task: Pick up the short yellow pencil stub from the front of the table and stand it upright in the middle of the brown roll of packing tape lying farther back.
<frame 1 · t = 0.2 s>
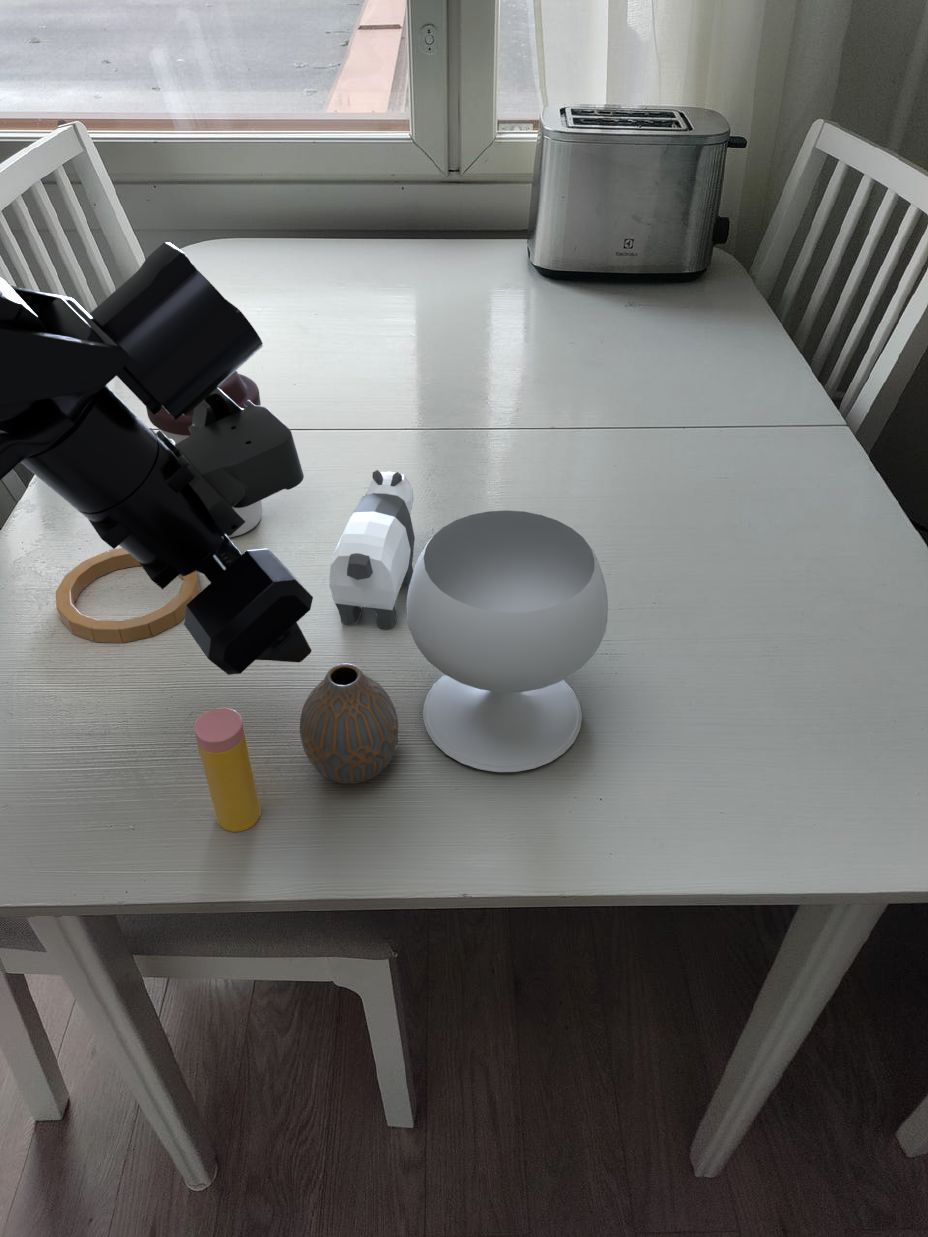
hand: (272, 616, 63), 13 cm above the table, tool tilted 30°, fingers open, 9 cm apart
coffee cup: (225, 521, 94), on the table
giant panda: (381, 589, 86), on the table
pencil stub: (238, 814, 66), on the table
tape roll: (130, 598, 84), on the table
vase: (353, 764, 70), on the table
chalice: (502, 717, 74), on the table
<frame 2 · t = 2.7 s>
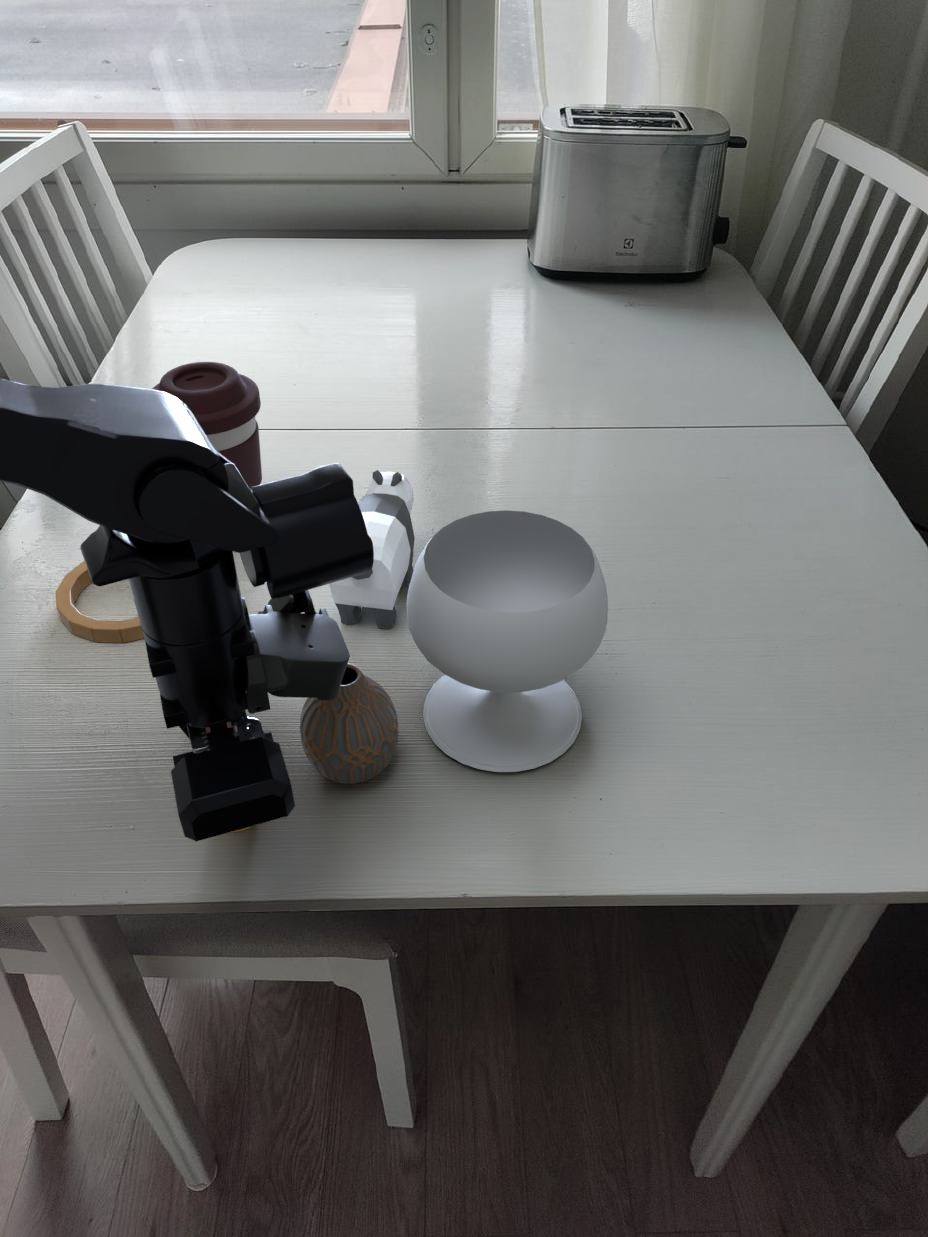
hand: (233, 791, 65), 3 cm above the table, tool pointing down, fingers closed on pencil stub, 3 cm apart
pencil stub: (238, 814, 66), on the table, touching gripper
everything else where it was.
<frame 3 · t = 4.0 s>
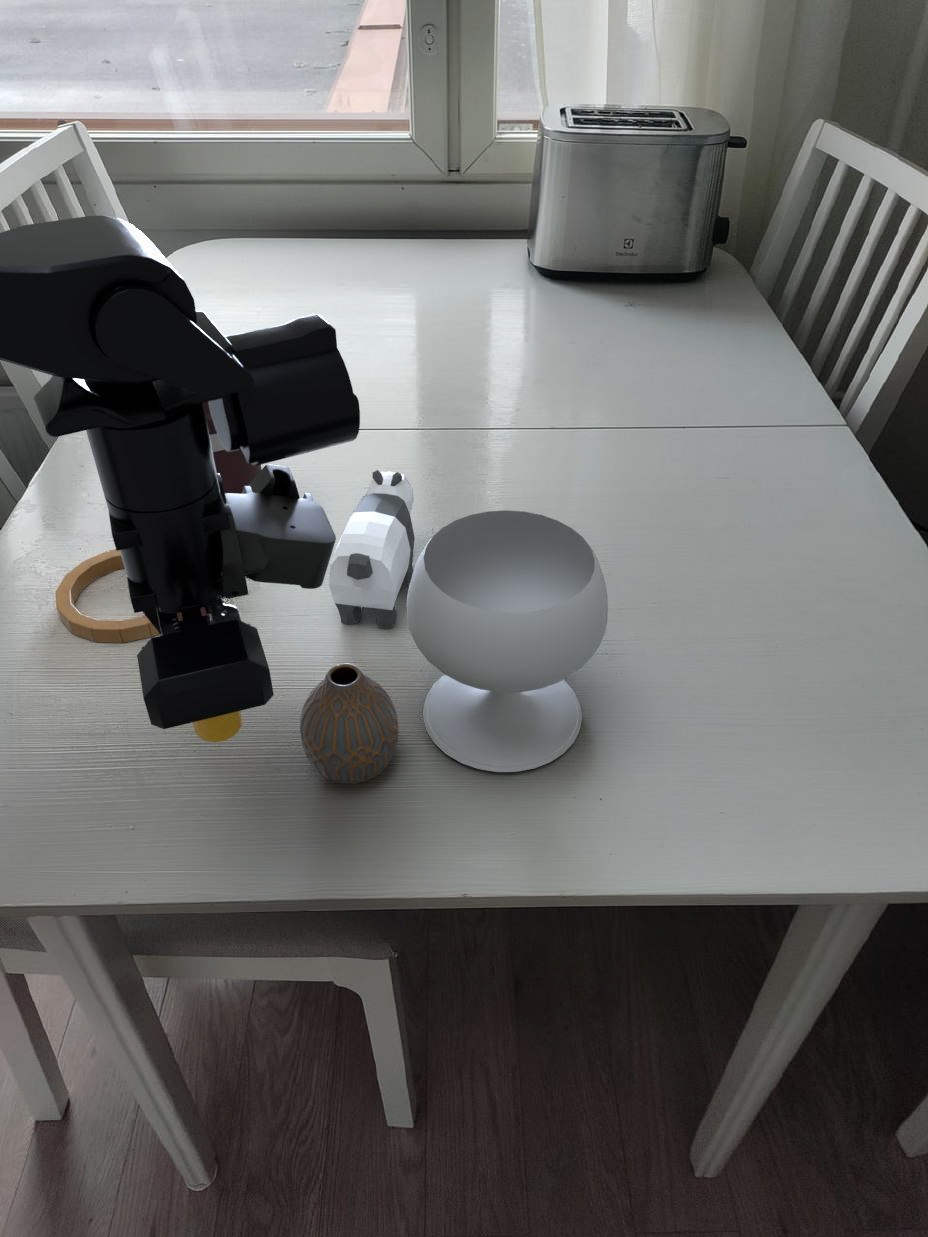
hand: (211, 697, 60), 11 cm above the table, tool pointing down, fingers closed on pencil stub, 3 cm apart
pencil stub: (218, 725, 61), point 8 cm above the table, touching gripper
everything else where it was.
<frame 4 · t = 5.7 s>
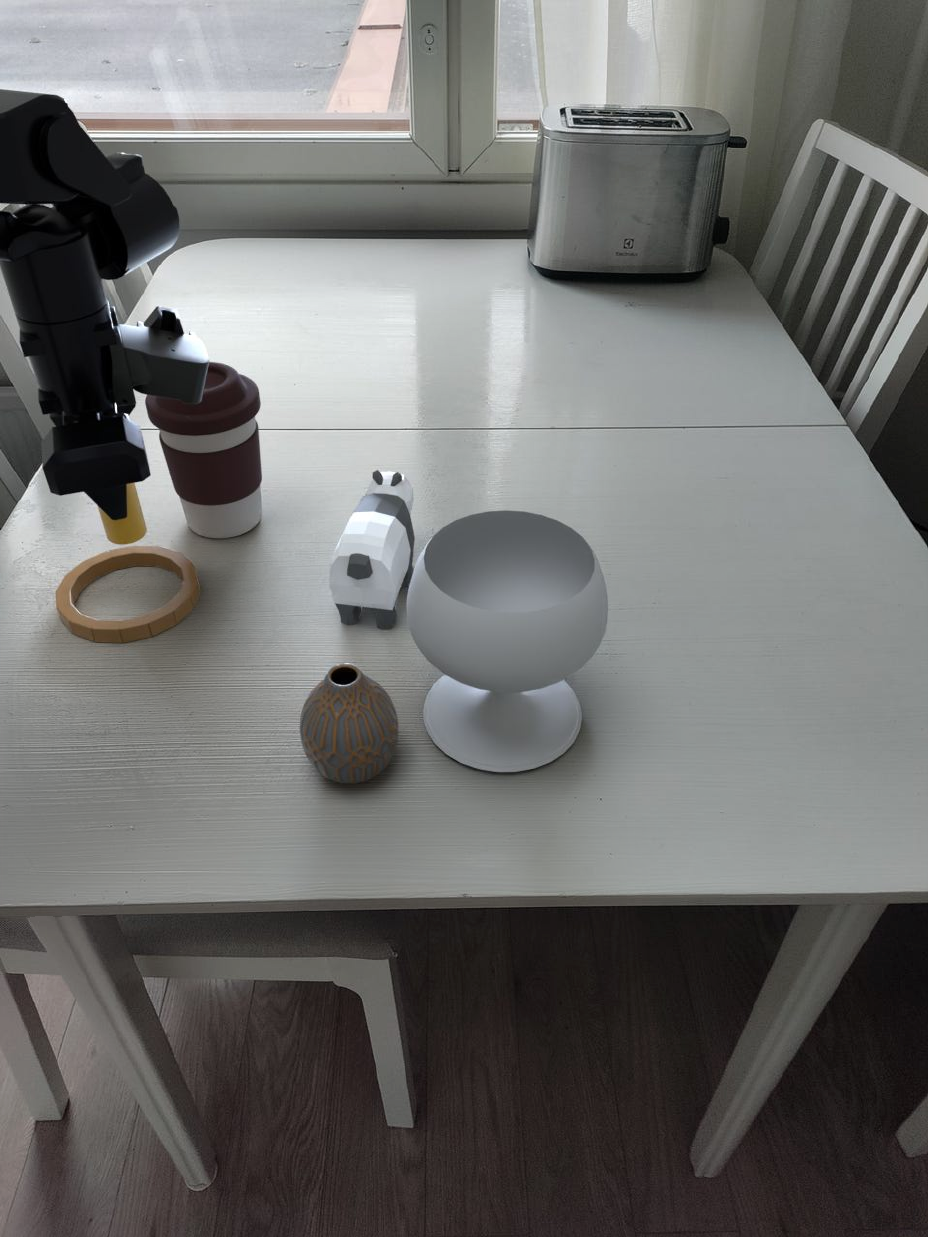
hand: (118, 506, 72), 13 cm above the table, tool pointing down, fingers closed on pencil stub, 3 cm apart
pencil stub: (127, 533, 74), point 10 cm above the table, touching gripper
everything else where it was.
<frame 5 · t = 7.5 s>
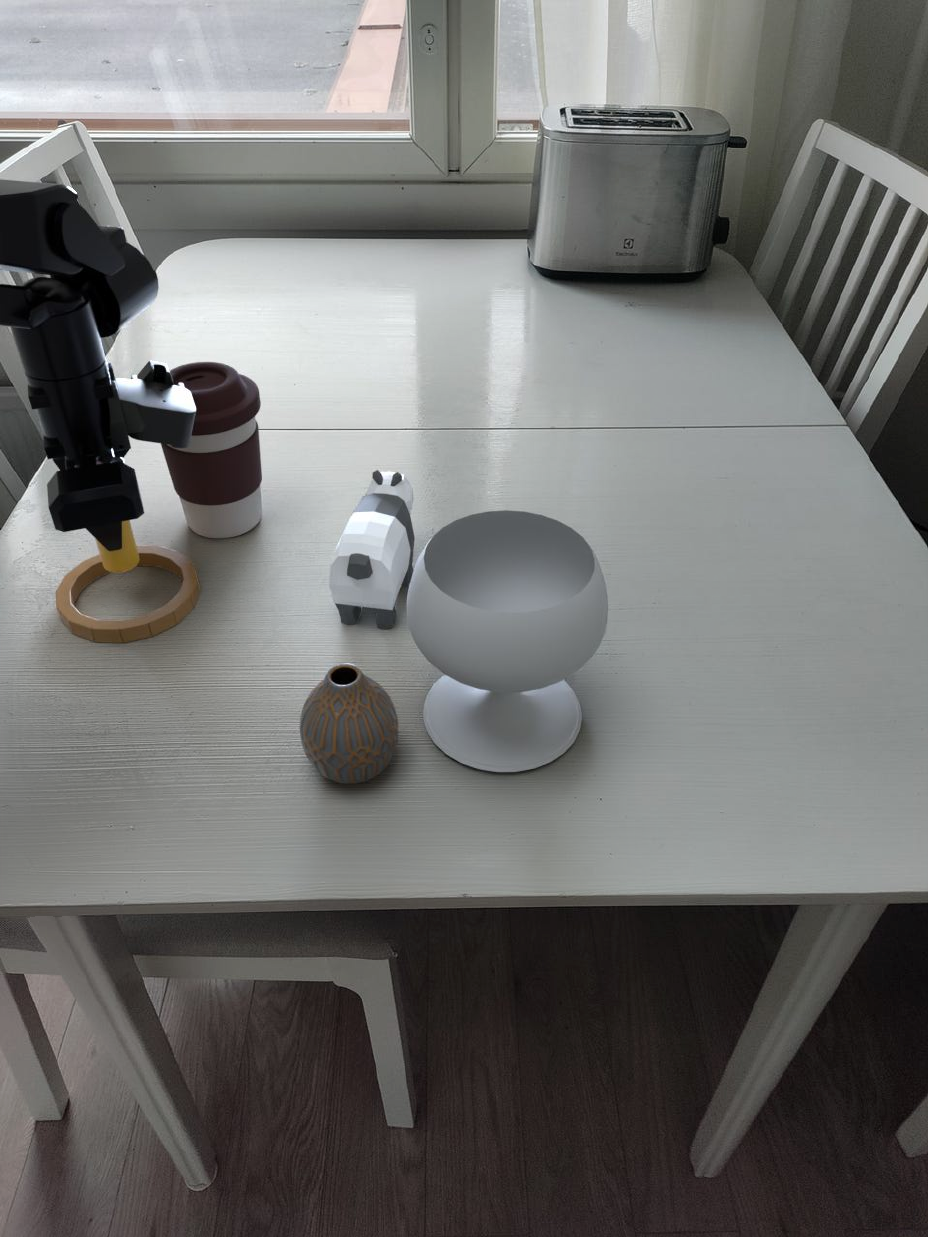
hand: (113, 538, 80), 6 cm above the table, tool pointing down, fingers closed on pencil stub, 3 cm apart
pencil stub: (121, 562, 82), point 4 cm above the table, touching gripper
everything else where it was.
when the fingers open (2 cm above the table, at t = 8.7 s): pencil stub stays where it is, resting in tape roll.
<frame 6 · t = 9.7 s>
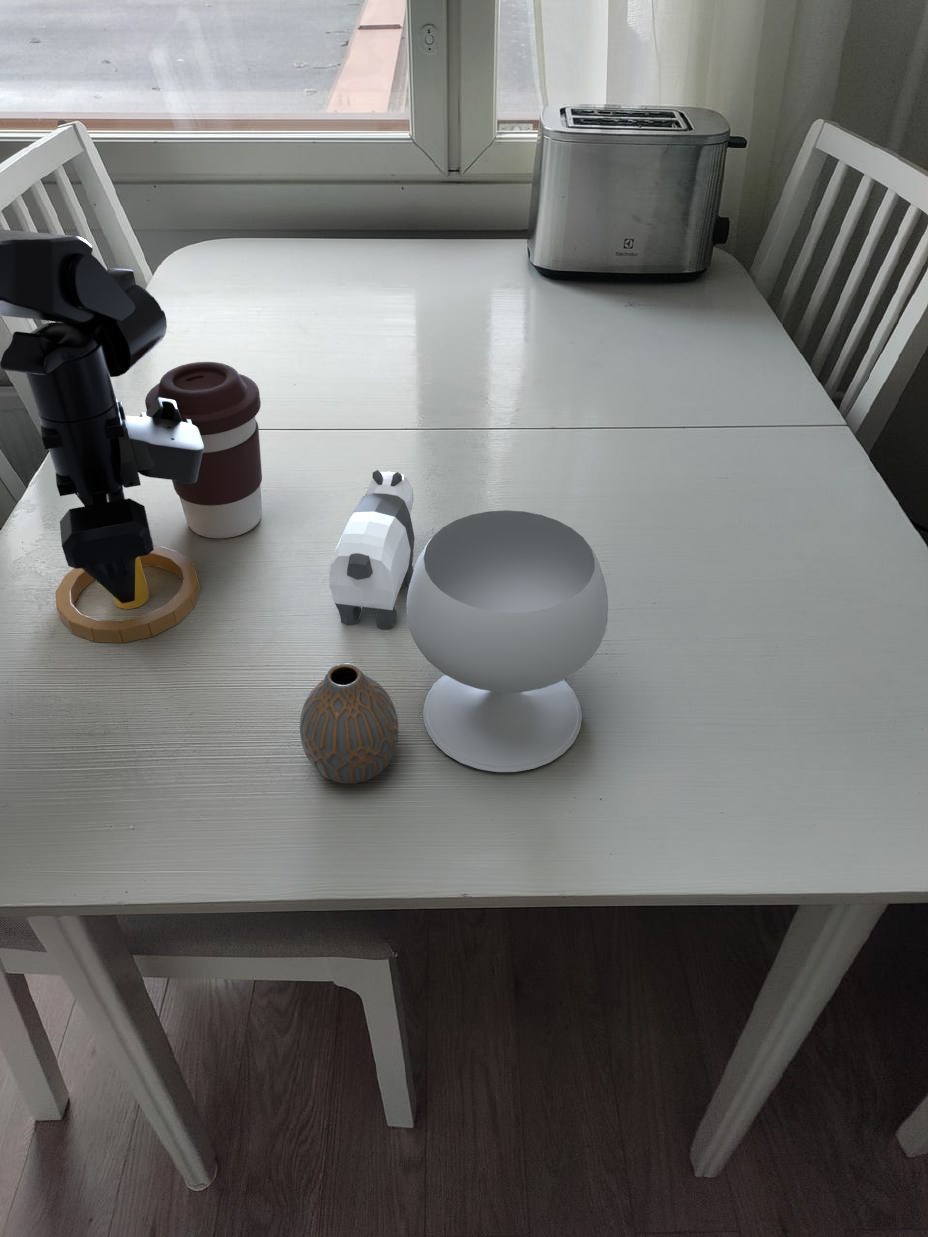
hand: (123, 569, 82), 3 cm above the table, tool pointing down, fingers open, 9 cm apart
pencil stub: (132, 598, 84), resting in tape roll
everything else where it was.
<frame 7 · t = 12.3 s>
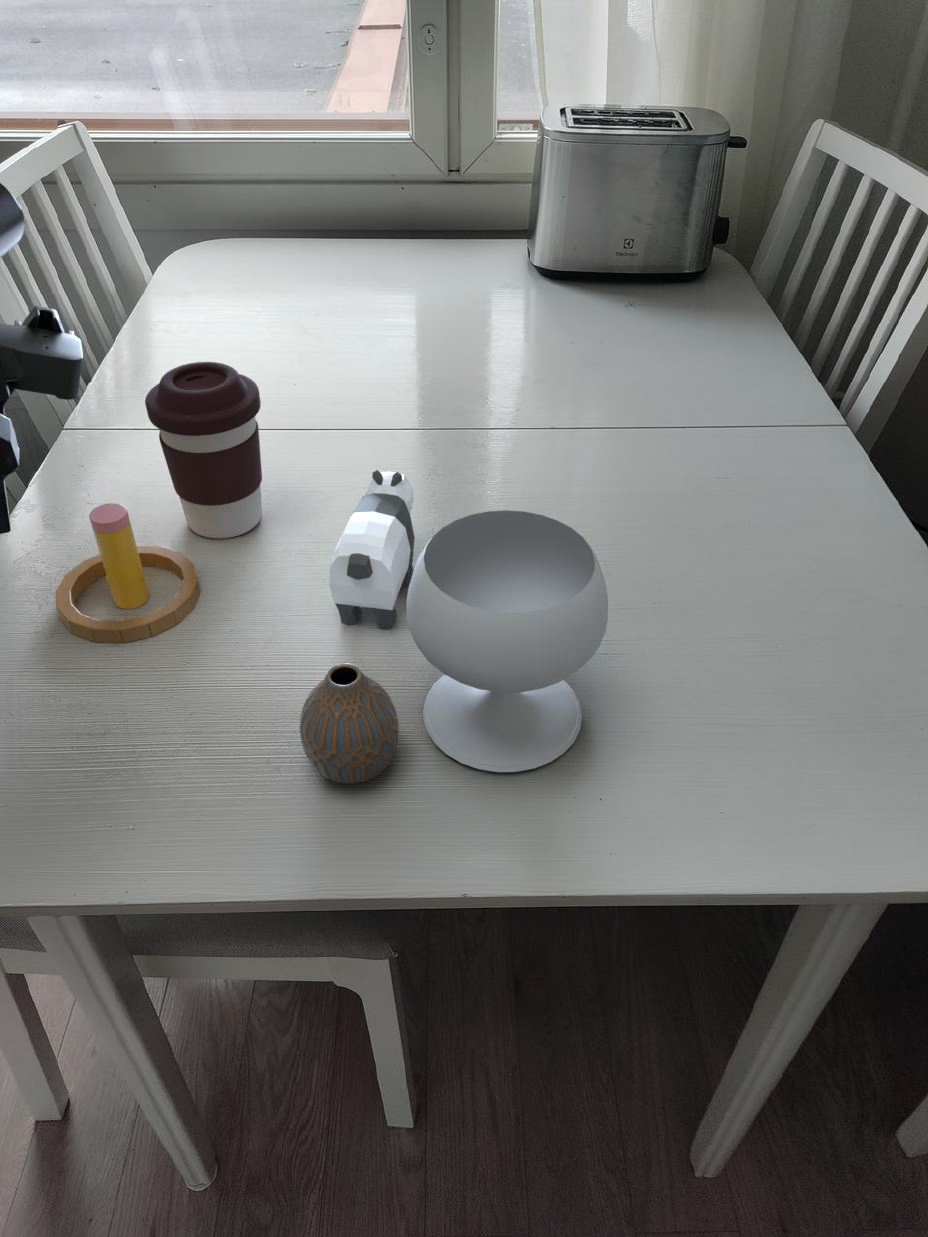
hand: (3, 500, 74), 12 cm above the table, tool pointing down, fingers open, 9 cm apart
nothing on the table moved.
at the end: pencil stub 0.1 cm off-centre on the tape roll, point 0.0 cm above the tape roll's base; pencil stub tilted 0° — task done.
